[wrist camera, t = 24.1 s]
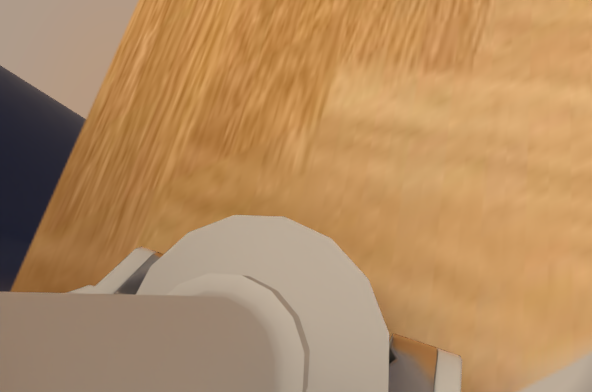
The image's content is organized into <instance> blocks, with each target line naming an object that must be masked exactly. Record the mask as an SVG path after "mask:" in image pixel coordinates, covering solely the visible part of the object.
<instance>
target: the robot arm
mask: <svg viewBox="0 0 592 392" xmlns="http://www.w3.org/2000/svg"><path fill="white" fill-rule="evenodd" d="M163 255H164V254H161V253H159V252H155V251H153V250H150V249H147V248H144V247H142V246H141V247H139V248H136V249H134V250H133V251H132V252H131V253H130V254H129V255H128V256H127V257H126V258H125V259H124V260H123V261H121V262H120V263H119V264H118V265H117V266H116V267H115V268H114V269H113V270H112V271H111V272H110V273H109V274H107V275H106V276H105V277H104V278H103V279H102V280H101V281H100V282H99V283H98V284H97V285H96V286H95V287H94V286H91V285H88V286H85V287H82V288H79V289H76V290H73V291H70V292H67V293H86V294H134V295H136V293H137V291H138V289H139V287H140V286H141V284H142V282H143V280H144V278H145V276H146V274H147V272H148V270H149V268H150V267H151V266H152V265H153V264H154V263H155V262H156V261H157V260H158V259H159V258H160V257H162V256H163ZM461 377H462V359H461V356H459V355H456V354H453V353H450V352H447V351H445V350H442V349H439V348H436V347H433V346H430V345H427V344H424V343H421V342H418V341H415V340H412V339H409V338H406V337H403V336H400V335H397V334H394V333H393V334H392V337H391V339H390V342H389V382H388V392H461Z"/></svg>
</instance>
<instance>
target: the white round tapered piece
mask: <svg viewBox="0 0 592 392" xmlns="http://www.w3.org/2000/svg"><path fill="white" fill-rule="evenodd" d="M388 382H389V332H388V329H387V327H386V324H385V322H384V319H383V316H382V314H381V311H380V308H379V306H378V303H377V300H376V298H375V295H374V292H373V290H372V287H371V284H370V282H369V279H368V278H367V277H366V276H365V275H364V274H363V273H362V271H361V270H360V269H359V268H358V267H357V266H356V265H355V264H354V263H353V262H352V261H351V259H350V258H349V257H348V256H347V255H346V254H345V253H344V252H343V251H342V250H341V249H340V247H339V246H338V245H337V244H336V243H335V242H334V241H333V240H332V239H331V238H329V237H327V236H325V235H323V234H321V233H319V232H316V231H314V230H312V229H310V228H308V227H306V226H303V225H301V224H299V223H297V222H295V221H293V220H290V219H288V218H286V217H280V216H250V215H233V216H231V217H228V218H225V219H223V220H220V221H217V222H215V223H212V224H209V225H207V226H204V227H201V228H199V229H196V230H193V231H191V232H188V233H187V234H186V235H185V236H184V237H183V238H182V239H180V240H179V241H178V242H177V243H176V244H175V245H174V246H173V247H172V248H170V249H169V250H168V251H167V252H166V253H165V254H164V255H163V256H162V257H160V258H159V259H158V260H157V261H156V262H155V263H154V264H153V265H152V266H151V267H150V268H149V270H148V272H147V274H146V276H145V278H144V280H143V282H142V284H141V286H140V287H139V289H138V291H137V293H136V295H134V294H86V293H38V292H0V392H388Z"/></svg>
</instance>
